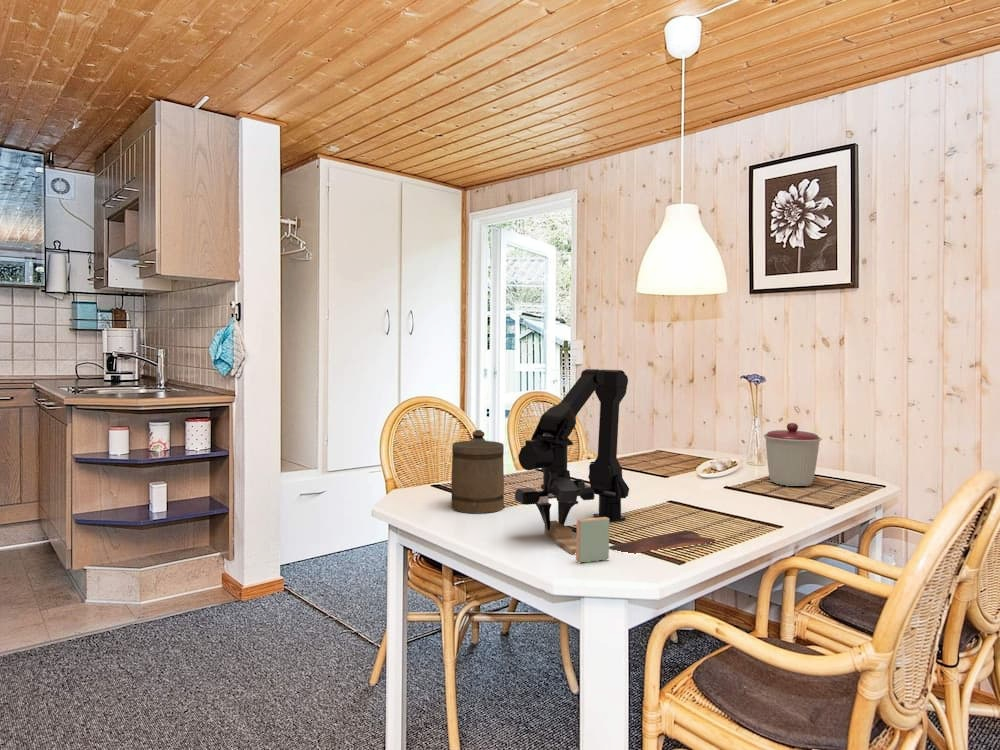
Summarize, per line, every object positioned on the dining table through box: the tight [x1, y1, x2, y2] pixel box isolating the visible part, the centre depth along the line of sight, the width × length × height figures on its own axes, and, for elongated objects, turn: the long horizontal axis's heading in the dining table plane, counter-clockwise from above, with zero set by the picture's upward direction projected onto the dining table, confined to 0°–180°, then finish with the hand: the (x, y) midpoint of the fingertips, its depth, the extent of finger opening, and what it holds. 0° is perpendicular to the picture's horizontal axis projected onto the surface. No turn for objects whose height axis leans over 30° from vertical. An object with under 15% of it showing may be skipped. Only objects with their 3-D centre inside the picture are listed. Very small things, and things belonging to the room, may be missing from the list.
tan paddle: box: [544, 520, 577, 555], centre depth 150 cm, size 17×5×3 cm, turn 20°
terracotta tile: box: [575, 517, 610, 563], centre depth 137 cm, size 2×7×9 cm, turn 110°
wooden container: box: [450, 429, 505, 514], centre depth 183 cm, size 15×15×22 cm
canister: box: [763, 422, 823, 487], centre depth 220 cm, size 18×18×21 cm
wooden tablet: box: [609, 530, 717, 554], centre depth 150 cm, size 26×2×10 cm
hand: (554, 529), depth 156 cm, fingers closed on tan paddle, 3 cm apart
